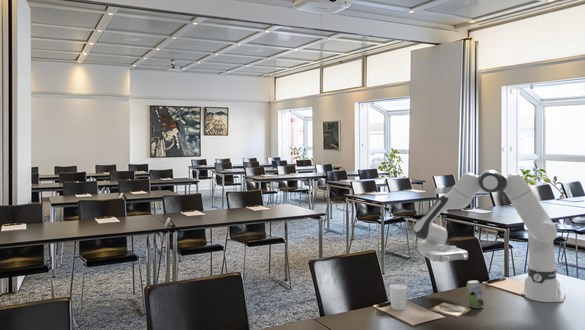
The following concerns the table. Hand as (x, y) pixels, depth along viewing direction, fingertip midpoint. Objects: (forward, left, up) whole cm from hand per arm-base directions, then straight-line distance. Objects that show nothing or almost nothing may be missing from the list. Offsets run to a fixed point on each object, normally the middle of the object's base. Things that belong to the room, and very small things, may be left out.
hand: (458, 258), depth 232 cm
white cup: (+31, -14, -20) cm, 39 cm away
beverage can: (+5, +11, -20) cm, 23 cm away
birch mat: (+17, +5, -20) cm, 27 cm away
